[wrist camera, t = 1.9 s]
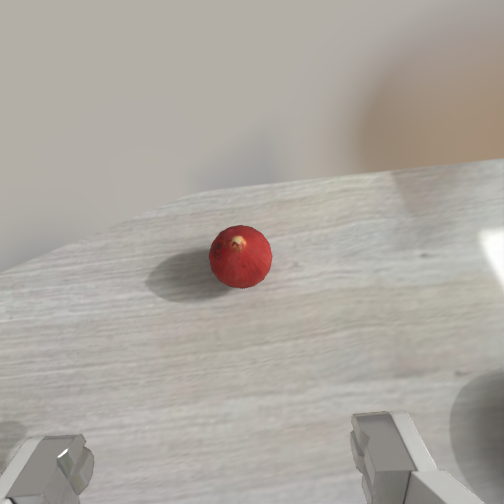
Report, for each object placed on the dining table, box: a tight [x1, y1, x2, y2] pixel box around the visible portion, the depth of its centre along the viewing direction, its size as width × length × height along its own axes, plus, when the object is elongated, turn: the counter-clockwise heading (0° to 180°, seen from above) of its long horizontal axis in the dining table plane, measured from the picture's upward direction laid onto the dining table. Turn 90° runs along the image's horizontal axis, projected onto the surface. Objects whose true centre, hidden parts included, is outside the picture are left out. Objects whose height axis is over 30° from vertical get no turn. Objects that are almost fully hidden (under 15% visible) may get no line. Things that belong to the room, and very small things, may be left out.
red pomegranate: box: [209, 225, 272, 289], centre depth 28 cm, size 6×6×8 cm
